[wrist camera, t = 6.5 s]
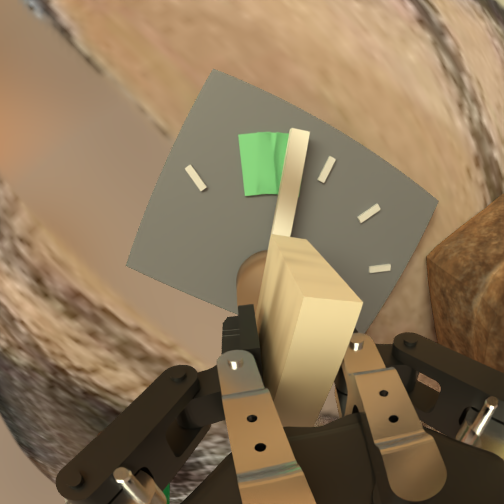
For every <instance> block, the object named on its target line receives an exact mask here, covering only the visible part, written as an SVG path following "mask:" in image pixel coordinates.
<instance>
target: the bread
mask: <svg viewBox="0 0 504 504" xmlns="http://www.w3.org/2000/svg"><path fill="white" fill-rule="evenodd" d="M427 271H428V282H429V290H430V297H431V304H432V310H433V316H434V323H435V329H436V335H437V340H438V344H440V345H443V346H445V347H447V348H449V349H451V350H454V351H456V352H458V353H460V354H462V355H465V356H467V357H469V358H471V359H473V360H476V361H478V362H480V363H482V364H484V365H487V366H489V367H491V368H493V369H496V370H498V371H500V372H502V373H504V194H502V195H501V196H499V197H498V198H497V199H496V200H495V201H493V202H492V203H491V204H490V205H489V206H487V207H486V208H485V209H484V210H482V211H481V212H480V213H478V214H477V215H476V216H474V217H473V218H472V219H470V220H469V221H468V222H466V223H465V224H464V225H462V226H461V227H460V228H459V229H457V230H456V231H455V232H454V233H452V234H451V235H450V236H448V237H447V238H446V239H445V240H444V241H442V242H441V243H440V244H439V245H437V246H436V247H435V248H434V249H433V250H432V251H431V253H430V254H429V255H428V256H427Z"/></svg>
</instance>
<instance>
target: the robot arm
mask: <svg viewBox="0 0 504 504" xmlns="http://www.w3.org/2000/svg"><path fill="white" fill-rule="evenodd" d="M419 372H420V373H422V374H424V375H426V376H428V377H430V378H432V379H434V380H436V381H437V382H438V383H439V384H440V386H441V392H440V393H439V392H437V391H436V390H434V389H432V388H430V387H428V386H426V385H424V384H423V383H421V382H419V381H417V378H418V375H419ZM334 383H335V397H336V403H337V408H338V413H339V418H340V419H337V420H335V421H333V422H331V423H328V424H326V425H324V426H321V427H292V426H287V427H283V426H282V424H281V421H280V419H279V416H278V413H277V411H276V408H275V405H274V403H273V400H272V397H271V395H270V392H269V390H268V388H264V382H263V372H262V362H261V352H260V344H259V338H258V331H257V324H256V318H255V311H254V305H253V304H248V305H239V306H238V316H234V317H227V319H226V320H225V321H224V323H223V331H222V355H221V356H220V357H219V358H218V360H217V365H216V366H214V367H213V368H211V369H208V370H205V371H202V372H198V373H197V371H196V370H195V369H194V368H193V367H191V366H188V365H177V366H173V367H170V368H168V369H167V370H165V371H164V372H163V373H162V374H161V375H160V376H159V377H158V378H157V379H156V380H155V381H154V382H153V383H152V384H151V385H150V386H149V387H148V388H147V389H146V390H145V391H144V392H143V393H142V394H141V395H140V396H139V397H137V398H136V399H135V400H134V401H133V402H132V403H131V404H130V405H129V406H128V407H127V408H126V409H125V410H124V411H123V412H122V413H121V414H120V415H119V416H118V417H117V418H116V419H115V420H114V421H113V422H112V423H110V424H109V425H108V426H107V427H106V428H105V429H104V430H103V431H102V432H101V433H100V434H99V435H98V436H97V437H96V438H95V439H94V440H93V441H91V442H90V443H89V444H88V445H87V446H86V447H85V448H84V449H83V450H82V451H81V452H80V453H79V454H78V455H76V456H75V457H74V458H73V459H72V460H71V461H70V462H69V463H68V464H67V465H66V466H65V467H64V468H62V469H61V470H60V472H59V473H58V475H57V477H56V487H57V490H58V492H59V493H60V494H61V495H62V496H63V497H64V498H65V499H66V500H68V501H69V502H70V503H71V504H166V503H167V501H166V497H165V495H164V493H163V490H164V489H165V488H166V487H167V485H168V484H169V483H170V482H171V480H172V479H173V478H174V476H175V475H176V474H177V472H178V471H179V470H180V469H181V467H182V466H183V465H184V463H185V462H186V461H187V459H188V458H189V457H190V455H191V454H192V453H193V451H194V450H195V448H196V447H197V446H198V444H199V443H200V442H201V440H202V439H203V437H204V436H205V435H206V433H207V432H208V431H209V429H210V427H211V424H213V423H216V422H219V421H222V420H225V419H226V424H227V430H228V435H229V440H230V445H231V450H232V452H231V453H230V454H229V455H227V456H226V457H225V459H224V460H223V461H222V462H221V463H220V464H219V465H218V466H217V467H216V468H215V469H214V470H213V471H212V472H211V474H210V475H209V476H208V477H207V478H206V479H205V480H204V481H203V482H202V483H201V484H200V485H199V486H198V487H197V488H196V489H195V490H194V491H193V492H192V493H191V494H190V495H189V496H188V497H187V498H186V499H185V500H184V501H183V502H182V503H180V504H504V373H502V372H500V371H498V370H496V369H493V368H491V367H489V366H487V365H484V364H482V363H480V362H478V361H476V360H473V359H471V358H469V357H467V356H465V355H462V354H460V353H458V352H456V351H454V350H451V349H449V348H447V347H445V346H443V345H440V344H438V343H436V342H434V341H432V340H429V339H427V338H425V337H423V336H421V335H418V334H415V333H401V334H399V335H397V336H396V337H395V338H394V341H393V344H375V343H374V341H373V339H372V338H371V337H369V336H368V335H365V334H362V333H358V331H357V330H356V328H354V331H353V334H352V337H351V339H350V342H349V345H348V347H347V350H346V353H345V355H344V358H343V360H342V363H341V365H340V368H339V370H338V373H337V375H336V377H335V380H334ZM420 420H421V421H423V422H424V423H426V424H428V425H429V426H431V427H433V428H434V429H436V430H438V431H440V432H441V433H443V434H445V435H443V434H441V433H438V432H436V431H433V430H431V429H428V428H426V427H424V426H422V425H421V422H420Z"/></svg>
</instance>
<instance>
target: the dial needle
mask: <svg viewBox="0 0 504 504" xmlns="http://www.w3.org/2000/svg"><path fill="white" fill-rule="evenodd" d="M309 135H310V132H308V131H304V130H300V129H295V128H291V129H290V131H289V137H288V143H287V148H286V154H285V160H284V165H283V171H282V176H281V182H280V187H279V193H278V198H277V204H276V209H275V214H274V220H273V225H272V230H271V236H270V241H269V246H268V250H264V251H260V252H257V253H255V254H253V255H251V256H250V257H249V258H247V259H246V260H245V261H244V262H243V264H242V265H241V267H240V268H239V271H238V273H237V279H236V287H237V307H238V306H239V305H248V304H253V305H254V311H255V318H256V324H257V331H258V338H259V344H260V352H261V362H262V372H263V382H264V388H268V390H269V392H270V395H271V397H272V400H273V403H274V405H275V408H276V411H277V413H278V416H279V419H280V421H281V424H282V426H283V427H287V426H292V427H313V426H314V424H315V422H316V420H317V418H318V416H319V414H320V411H321V409H322V407H323V405H324V403H325V400H326V398H327V396H328V394H329V391H330V389H331V387H332V385H333V382H334V380H335V377H336V375H337V373H338V370H339V368H340V365H341V363H342V360H343V358H344V355H345V353H346V350H347V347H348V345H349V342H350V339H351V337H352V334H353V331H354V328H355V326H356V323H357V320H358V317H359V314H360V311H361V308H362V305H363V302H362V301H361V299H360V298H359V297H358V296H357V295H356V294H355V293H354V291H353V290H352V289H351V288H350V287H349V286H348V285H347V283H346V282H345V281H344V280H343V279H342V278H341V277H340V276H339V274H338V273H337V272H336V271H335V270H334V269H333V268H332V267H331V266H330V264H329V263H328V262H327V261H326V260H325V259H324V258H323V257H322V256H321V255H320V253H319V252H318V251H317V250H316V249H315V248H314V247H313V246H312V245H311V244H310V243H309V242H308V240H307V239H300V238H294V237H290V235H291V230H292V225H293V220H294V215H295V210H296V205H297V200H298V195H299V190H300V184H301V179H302V174H303V168H304V163H305V157H306V152H307V146H308V140H309Z"/></svg>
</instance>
